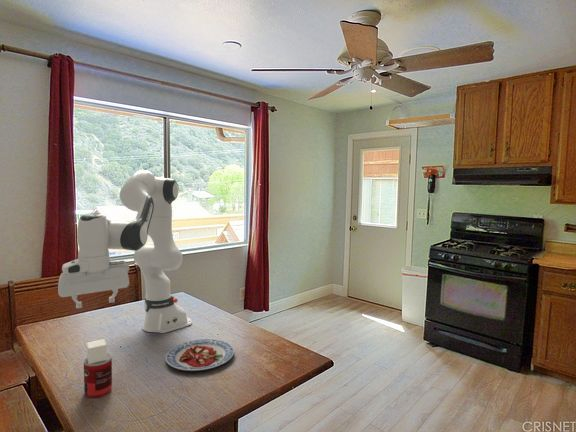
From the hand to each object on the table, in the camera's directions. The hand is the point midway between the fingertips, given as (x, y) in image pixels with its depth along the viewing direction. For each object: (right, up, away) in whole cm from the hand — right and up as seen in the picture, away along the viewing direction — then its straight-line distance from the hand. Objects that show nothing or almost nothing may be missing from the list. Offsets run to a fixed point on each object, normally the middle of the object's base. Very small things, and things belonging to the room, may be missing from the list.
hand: (95, 304), depth 113 cm
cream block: (+2, -16, -3) cm, 17 cm away
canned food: (+2, -28, -2) cm, 28 cm away
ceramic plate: (+29, -27, +22) cm, 45 cm away
